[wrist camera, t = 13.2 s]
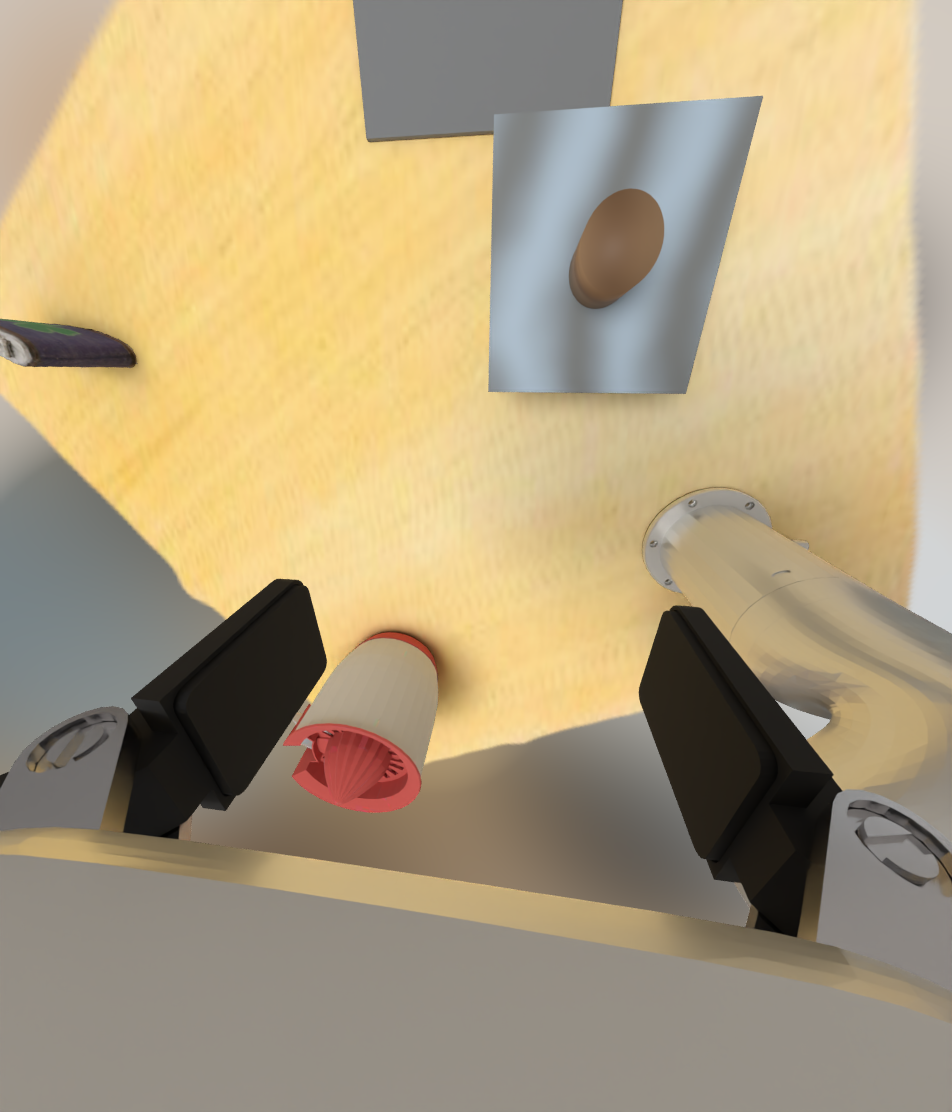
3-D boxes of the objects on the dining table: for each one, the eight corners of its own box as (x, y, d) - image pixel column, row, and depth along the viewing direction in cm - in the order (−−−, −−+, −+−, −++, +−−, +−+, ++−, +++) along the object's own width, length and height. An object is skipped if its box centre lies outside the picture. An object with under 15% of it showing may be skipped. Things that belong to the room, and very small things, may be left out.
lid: (749, 111, 19) (843, 3, 13) (678, 393, 25) (722, 397, 20) (495, 128, 20) (486, 36, 15) (489, 391, 27) (481, 394, 21)
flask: (55, 349, 37) (-105, 339, 27) (46, 316, 35) (-126, 294, 26) (140, 372, 37) (10, 369, 27) (134, 340, 36) (-6, 327, 26)
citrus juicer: (332, 610, 49) (228, 740, 32) (452, 627, 48) (413, 772, 31) (342, 686, 56) (262, 826, 39) (446, 703, 55) (412, 854, 38)
